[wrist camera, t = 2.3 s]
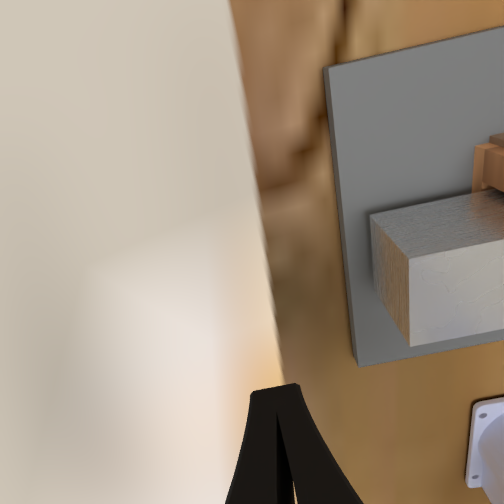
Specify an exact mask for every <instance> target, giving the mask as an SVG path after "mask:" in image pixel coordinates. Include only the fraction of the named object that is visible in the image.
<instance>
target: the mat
mask: <svg viewBox="0 0 504 504" xmlns="http://www.w3.org/2000/svg"><path fill="white" fill-rule="evenodd" d="M323 75H324V84H325V93H326V103H327V112H328V121H329V131H330V140H331V149H332V159H333V168H334V177H335V187H336V196H337V205H338V215H339V224H340V233H341V243H342V252H343V262H344V271H345V280H346V290H347V299H348V308H349V318H350V327H351V336H352V346H353V355H354V358H355V360H356V363H357V365H358V367H359V368H360V367H365V366H370V365H375V364H381V363H386V362H391V361H396V360H401V359H407V358H412V357H417V356H422V355H427V354H433V353H438V352H443V351H448V350H453V349H459V348H464V347H469V346H474V345H479V344H485V343H490V342H495V341H500V340H504V329H500V330H495V331H490V332H484V333H479V334H474V335H469V336H464V337H459V338H453V339H448V340H443V341H438V342H433V343H428V344H422V345H417V346H412V347H410V346H409V345H408V343H407V342H406V340H405V338H404V337H403V335H402V334H401V332H400V330H399V329H398V327H397V325H396V324H395V322H394V321H393V319H392V317H391V316H390V314H389V313H388V311H387V309H386V308H385V306H384V305H383V303H382V301H381V300H380V298H379V297H378V295H377V293H376V292H375V290H374V276H373V260H372V245H371V229H370V215H371V214H376V213H381V212H385V211H390V210H395V209H400V208H404V207H409V206H414V205H418V204H423V203H428V202H433V201H437V200H442V199H447V198H451V197H456V196H461V195H466V194H470V193H472V180H473V166H474V152H475V146H476V145H481V144H485V143H489V138H490V135H495V134H500V133H504V25H503V26H499V27H495V28H491V29H486V30H482V31H478V32H473V33H469V34H465V35H461V36H456V37H452V38H448V39H443V40H439V41H435V42H430V43H426V44H422V45H418V46H413V47H409V48H405V49H400V50H396V51H392V52H388V53H383V54H379V55H375V56H370V57H366V58H362V59H357V60H353V61H349V62H345V63H340V64H336V65H332V66H327V67H323Z"/></svg>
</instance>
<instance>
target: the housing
mask: <svg viewBox="0 0 504 504" xmlns="http://www.w3.org/2000/svg"><path fill="white" fill-rule="evenodd" d="M494 188H496V189H498V190H501V191H503V192H504V133H500V134H495V135H490V138H489V143H485V144H481V145H476V146H475V152H474V166H473V180H472V193H475V192H480V191H484V190H489V189H494Z"/></svg>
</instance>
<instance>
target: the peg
mask: <svg viewBox="0 0 504 504" xmlns="http://www.w3.org/2000/svg"><path fill="white" fill-rule="evenodd" d="M370 229H371V245H372V260H373V276H374V290H375V292H376V293H377V295H378V297H379V298H380V300H381V301H382V303H383V305H384V306H385V308H386V309H387V311H388V313H389V314H390V316H391V317H392V319H393V321H394V322H395V324H396V325H397V327H398V329H399V330H400V332H401V334H402V335H403V337H404V338H405V340H406V342H407V343H408V345H409V346H410V347H412V346H417V345H422V344H428V343H433V342H438V341H443V340H448V339H453V338H459V337H464V336H469V335H474V334H479V333H484V332H490V331H495V330H500V329H504V192H503V191H501V190H498V189H496V188H494V189H489V190H484V191H480V192H475V193H470V194H466V195H461V196H456V197H451V198H447V199H442V200H437V201H433V202H428V203H423V204H418V205H414V206H409V207H404V208H400V209H395V210H390V211H385V212H381V213H376V214H371V215H370Z"/></svg>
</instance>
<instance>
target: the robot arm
mask: <svg viewBox="0 0 504 504" xmlns="http://www.w3.org/2000/svg"><path fill="white" fill-rule="evenodd" d="M293 482H294V486H293ZM465 482H466V484H467V486H468V487H469V488H477V487H482V488H483V490H484V492H485V493H486V495H487V497H488V498H489V500H490V502H491V503H492V504H504V397H501V398H496V399H490V400H485V401H480V402H477V403H476V404H475V405H474V406H473V412H472V422H471V431H470V441H469V451H468V460H467V470H466V480H465ZM294 487H295V492H296V497H297V503H298V504H364V503H363V502H362V501H361V499H360V498H359V496H358V495H357V493H356V492H355V490H354V489H353V487H352V486H351V484H350V483H349V481H348V480H347V478H346V476H345V475H344V473H343V472H342V470H341V469H340V467H339V465H338V464H337V462H336V461H335V459H334V457H333V456H332V454H331V452H330V450H329V448H328V447H327V445H326V443H325V441H324V440H323V438H322V436H321V434H320V432H319V431H318V429H317V427H316V425H315V423H314V421H313V419H312V417H311V415H310V412H309V410H308V408H307V406H306V403H305V401H304V398H303V395H302V392H301V389H300V385H298V384H296V383H293V384H287V385H282V386H277V387H272V388H267V389H261V390H256V391H253V392H252V393H251V395H250V404H249V412H248V417H247V423H246V428H245V432H244V438H243V442H242V445H241V450H240V454H239V457H238V461H237V465H236V469H235V472H234V476H233V479H232V482H231V486H230V489H229V492H228V495H227V498H226V502H225V504H295V500H294Z"/></svg>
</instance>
